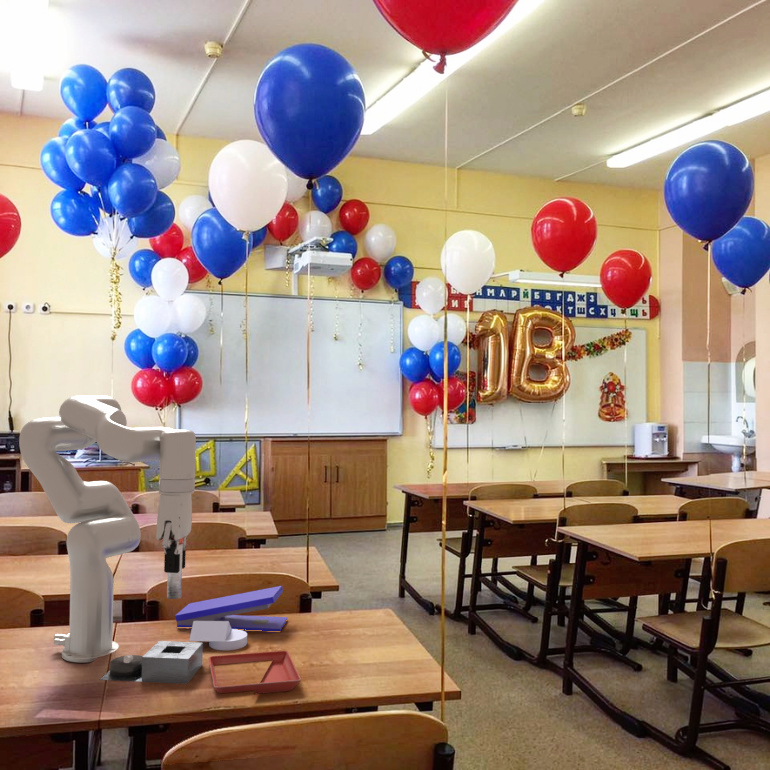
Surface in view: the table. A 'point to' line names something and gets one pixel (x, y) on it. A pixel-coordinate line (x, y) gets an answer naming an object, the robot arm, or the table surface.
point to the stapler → (235, 611)
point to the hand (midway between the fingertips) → (174, 569)
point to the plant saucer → (275, 679)
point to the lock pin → (175, 577)
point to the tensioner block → (159, 664)
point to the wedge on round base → (218, 635)
